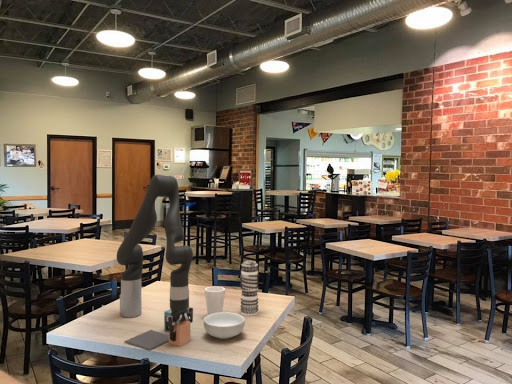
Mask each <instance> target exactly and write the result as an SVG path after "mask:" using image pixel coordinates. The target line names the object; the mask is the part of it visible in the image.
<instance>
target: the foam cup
mask: <svg viewBox="0 0 512 384" xmlns="http://www.w3.org/2000/svg"><path fill="white" fill-rule="evenodd" d="M204 295H205V302H206V303H205V304H206V309H207V316H208V315H210V314H213V313H219V312H223V310H224V309H223V308H224V302H225V295H226V288H225V287H223V286H218V285H217V286H215V285H213V286H208V287H205V288H204Z"/></svg>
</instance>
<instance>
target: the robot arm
mask: <svg viewBox="0 0 512 384" xmlns="http://www.w3.org/2000/svg"><path fill="white" fill-rule="evenodd" d="M179 191H180V189H179V184H178V180H177V178H176V177H174V176H171V175H163V174H155V175H152V177H151V178H150V180H149V183H148V185H147V188H146V192H145V194H144V196H143V200H142V202H141V204H140V207H139V209H138V211H137V213H136V214H135V217H134V219H133V221H132V224H131V226H130V228H129V230H128V232H127V233H126V236H125V238H124V239H123V240H122V242H121V243H120V245H119V246H118V249H117V252H116V262H117V263H118V264H119V265H121V266H129V267H127V268H126V269H125V270H124V271H122V272H121V273H120V294H119V315H120V316H121V317H122V318H135V317H139V316H140V315H142V309H143V308H142V307H143V306H142V305H143V304H142V302H143V301H142V274H143V266H144V263H143V262H144V252H143V251H144V250H143V248H142V246H141V245H140V244H139V243H140V242H142V241H143V240H144V239H146V238H147V237H148V236H149V235H150V234H151V233H152V231H153V230H154V227H155V225H157V221H158V214H157V211H156V207H155V202H156V200H157V199H158V198H159V197H161V198H168V201H169V207H168V210H167V212H166V215H165V217H164V220H163V227H164V233H165V237H166V248H165V260H166V263H168V264H169V265H171V266H175V265H180V267H177V268H176V269H173V270H172V271H171V272H170V273H169V274H170V283H169V284H170V287H169V288H170V289H169V310H170V309H171V315H170V316H165V329H166V330H165V331H166V332H167V333H169V332H170V340H171V341H176V332H175V331H176V328H177V326H178V325H179V323H180V322H182V321H190V324H192V323H193V321H194V320H193V318H194V308H193V307H190V288H189V287H190V286H189V275H190V274H189V273H190V270H191V264H192V262H193V259H194V253H193V249H192V247H191V246H189V245H178V246H177V245H176V246H175V244H178V243H179V242H182V241H183V240H184V239H185V233H184V229H183V223H182V220H181V211H180V206H181V205H180V192H179ZM173 322H176V323H173ZM173 325H174V328H173ZM168 326H169V327H168Z"/></svg>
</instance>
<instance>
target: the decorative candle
mask: <svg viewBox="0 0 512 384" xmlns="http://www.w3.org/2000/svg"><path fill="white" fill-rule="evenodd" d="M240 265H241V271H240V273H241V274H240V275H239V276H240V279H239V280H240V290H241V295H240V296H241V297H240V315H241V316H248V317H249V316H250V317H253V316H256V315H257V316H258V314H259V298H258V297H259V295H258V290H259V286H258V285H259V283H260V282H259V280H260V279H259V278H258V277H260V275H259V271H258V266H259V263H257V262H256V261H255V260H252V259H251V260H249V259H248V260H243V262H242V263H241V264H240Z"/></svg>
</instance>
